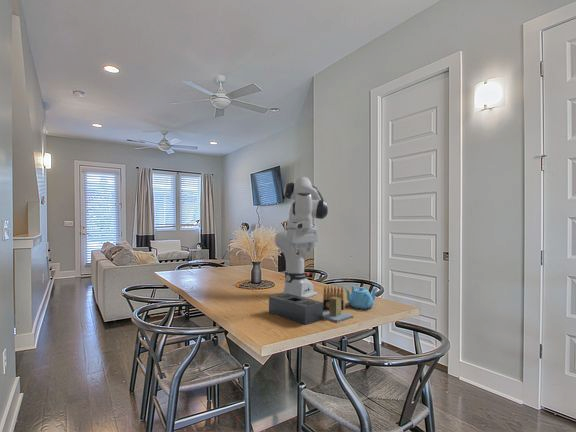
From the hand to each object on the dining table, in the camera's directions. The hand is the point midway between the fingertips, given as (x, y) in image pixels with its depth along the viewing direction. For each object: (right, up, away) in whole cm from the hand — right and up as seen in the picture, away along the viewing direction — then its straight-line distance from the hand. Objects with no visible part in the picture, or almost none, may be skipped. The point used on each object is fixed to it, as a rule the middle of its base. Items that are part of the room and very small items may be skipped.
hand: (302, 252), depth 162 cm
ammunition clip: (+16, -30, +4) cm, 34 cm away
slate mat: (+15, -30, -9) cm, 35 cm away
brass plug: (+15, -29, -9) cm, 34 cm away
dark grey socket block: (-4, -29, -10) cm, 31 cm away
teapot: (+32, -31, +12) cm, 46 cm away
